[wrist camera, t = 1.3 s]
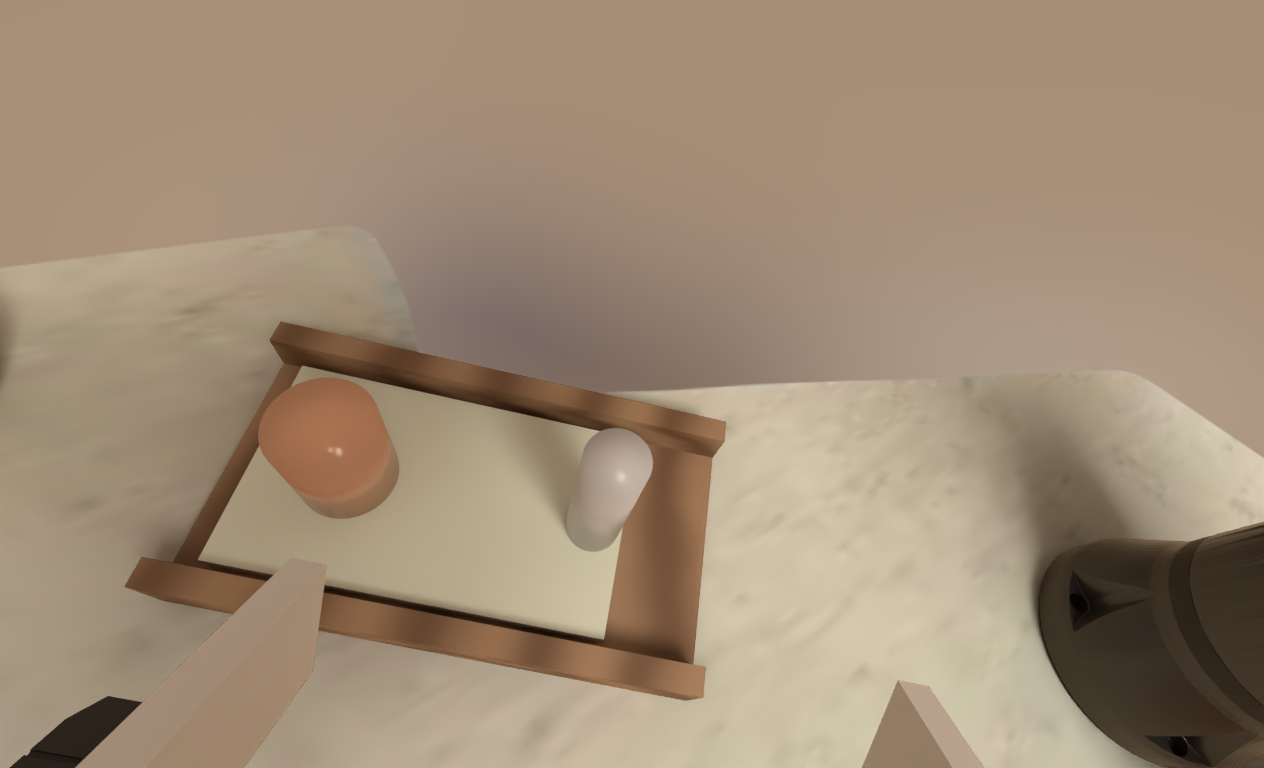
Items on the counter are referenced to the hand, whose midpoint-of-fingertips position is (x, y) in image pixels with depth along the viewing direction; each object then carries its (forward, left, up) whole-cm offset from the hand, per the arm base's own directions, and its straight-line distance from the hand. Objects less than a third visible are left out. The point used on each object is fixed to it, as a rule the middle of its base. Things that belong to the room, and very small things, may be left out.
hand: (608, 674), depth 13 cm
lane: (+13, +1, -26) cm, 29 cm away
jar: (+17, +8, -24) cm, 30 cm away
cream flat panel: (+14, +3, -25) cm, 29 cm away
